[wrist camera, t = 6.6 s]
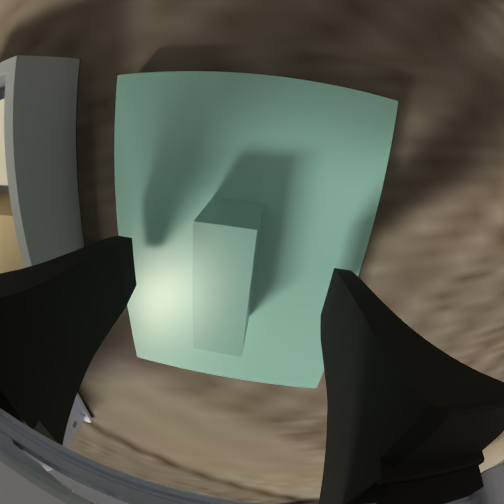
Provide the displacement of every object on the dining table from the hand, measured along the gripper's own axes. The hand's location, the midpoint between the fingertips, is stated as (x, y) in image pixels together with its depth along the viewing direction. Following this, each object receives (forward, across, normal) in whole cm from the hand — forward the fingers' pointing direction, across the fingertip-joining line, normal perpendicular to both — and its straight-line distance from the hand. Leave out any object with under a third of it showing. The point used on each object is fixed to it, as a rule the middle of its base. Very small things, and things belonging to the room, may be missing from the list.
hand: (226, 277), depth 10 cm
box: (+3, +12, -2) cm, 12 cm away
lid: (+3, 0, 0) cm, 3 cm away
